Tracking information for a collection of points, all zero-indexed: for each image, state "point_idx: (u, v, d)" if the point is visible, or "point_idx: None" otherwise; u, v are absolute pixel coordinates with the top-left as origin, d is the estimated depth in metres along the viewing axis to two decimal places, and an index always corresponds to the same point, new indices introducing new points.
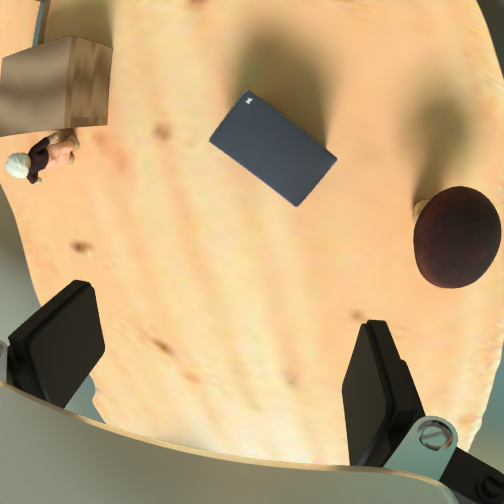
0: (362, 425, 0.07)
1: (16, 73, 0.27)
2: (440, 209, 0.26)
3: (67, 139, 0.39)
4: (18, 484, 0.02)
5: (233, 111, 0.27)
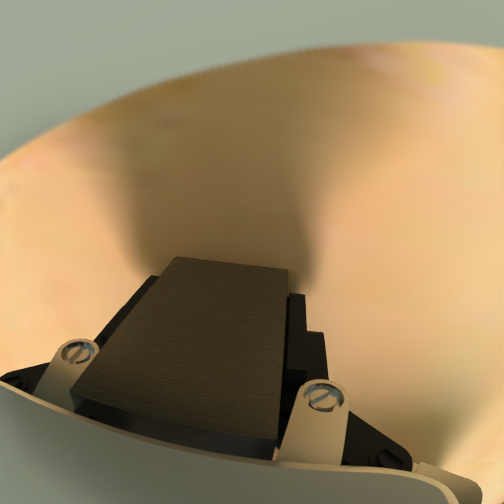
0: None
1: None
2: None
3: None
4: (18, 484, 0.02)
5: None
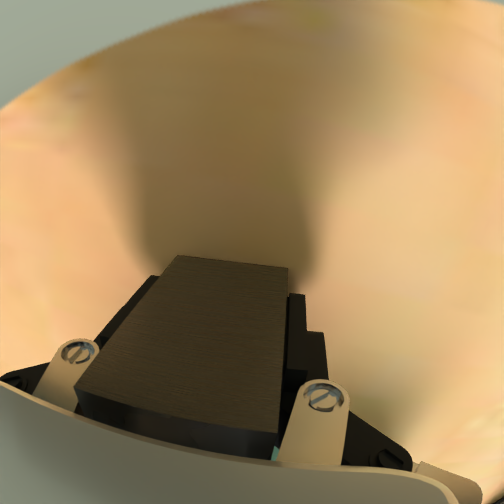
0: None
1: None
2: None
3: None
4: (18, 484, 0.02)
5: None
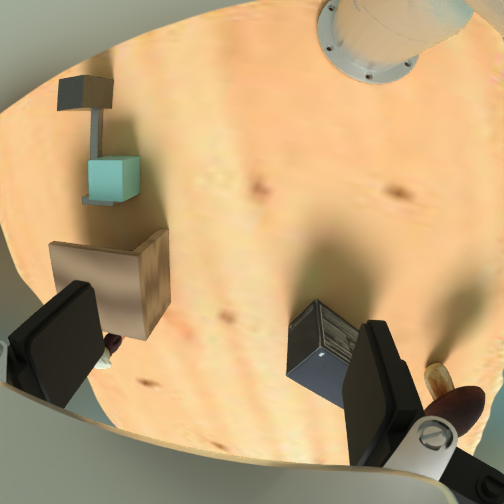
0: (362, 424, 0.07)
1: (73, 271, 0.35)
2: (442, 407, 0.34)
3: None
4: (18, 484, 0.02)
5: (308, 360, 0.35)
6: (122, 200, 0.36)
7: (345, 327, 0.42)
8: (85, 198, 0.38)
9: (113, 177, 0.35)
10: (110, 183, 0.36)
